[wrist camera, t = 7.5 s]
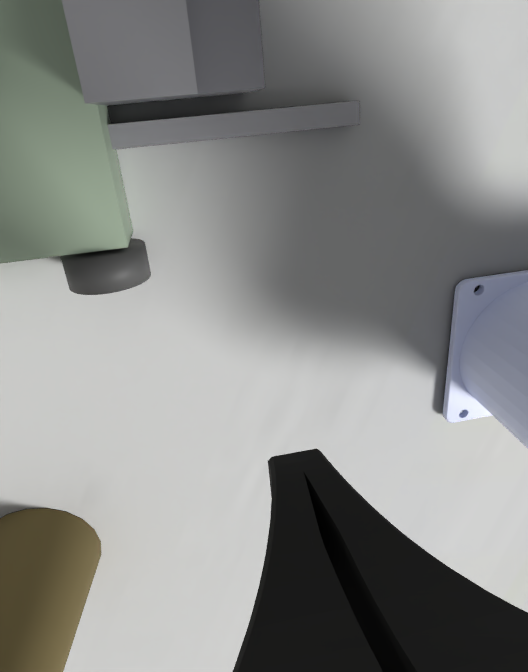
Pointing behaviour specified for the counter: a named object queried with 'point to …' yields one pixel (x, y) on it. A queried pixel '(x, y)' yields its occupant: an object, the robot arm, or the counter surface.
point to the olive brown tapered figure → (43, 586)
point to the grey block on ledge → (165, 48)
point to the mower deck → (89, 153)
